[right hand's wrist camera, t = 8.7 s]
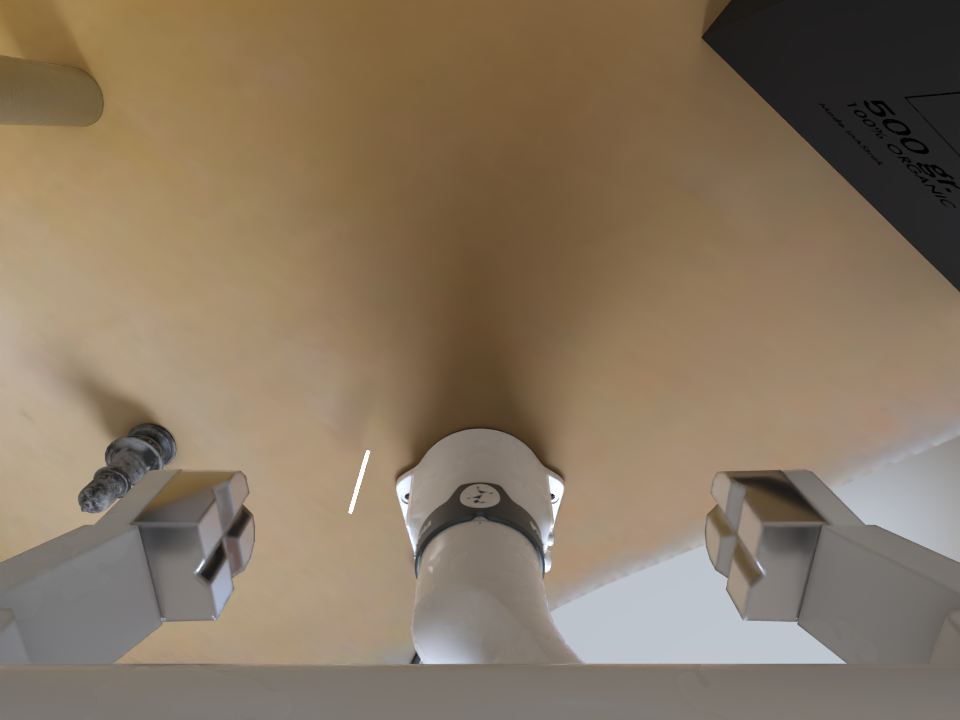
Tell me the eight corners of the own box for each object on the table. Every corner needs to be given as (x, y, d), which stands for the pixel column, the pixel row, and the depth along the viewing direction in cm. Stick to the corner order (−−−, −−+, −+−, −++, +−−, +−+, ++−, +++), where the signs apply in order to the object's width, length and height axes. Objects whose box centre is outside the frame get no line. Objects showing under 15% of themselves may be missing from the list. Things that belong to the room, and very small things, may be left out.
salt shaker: (115, 450, 64) (38, 516, 53) (138, 411, 63) (63, 471, 51) (164, 477, 66) (99, 548, 54) (188, 440, 64) (125, 505, 53)
